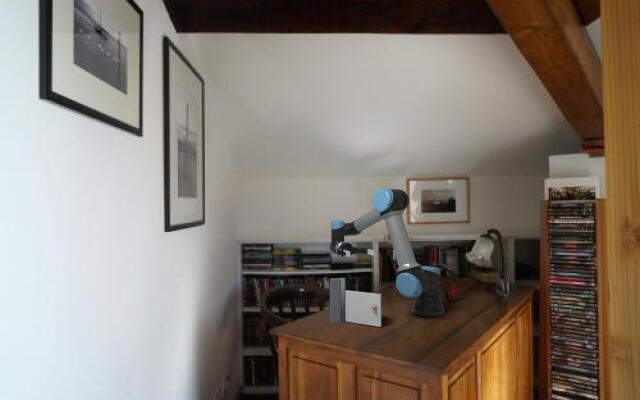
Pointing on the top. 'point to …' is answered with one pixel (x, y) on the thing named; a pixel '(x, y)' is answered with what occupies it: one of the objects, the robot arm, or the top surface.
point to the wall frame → (337, 300)
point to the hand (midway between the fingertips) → (362, 253)
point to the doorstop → (381, 298)
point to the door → (363, 308)
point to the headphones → (451, 289)
